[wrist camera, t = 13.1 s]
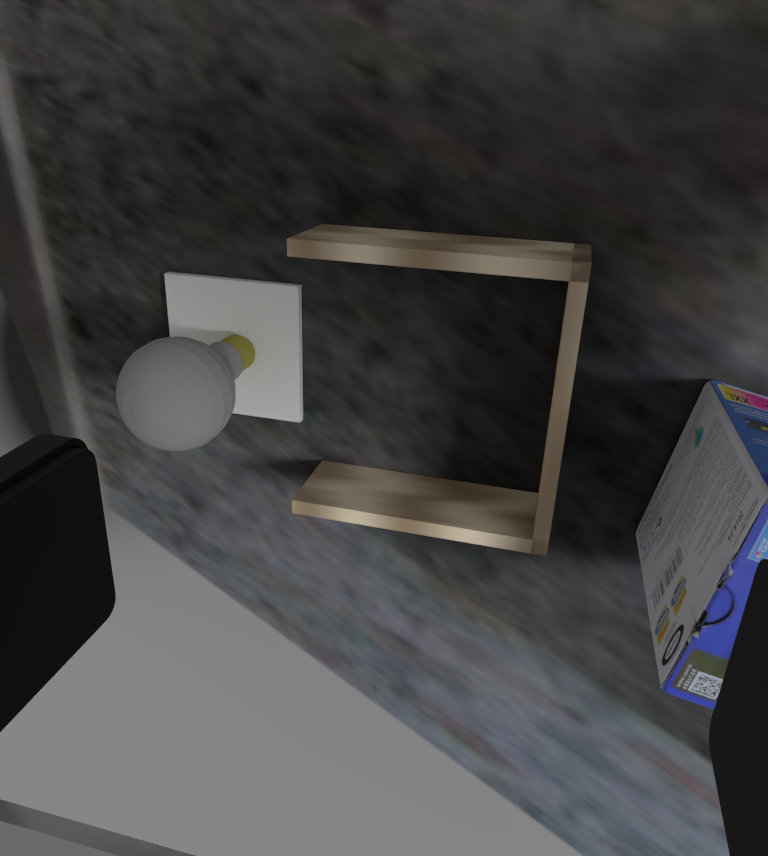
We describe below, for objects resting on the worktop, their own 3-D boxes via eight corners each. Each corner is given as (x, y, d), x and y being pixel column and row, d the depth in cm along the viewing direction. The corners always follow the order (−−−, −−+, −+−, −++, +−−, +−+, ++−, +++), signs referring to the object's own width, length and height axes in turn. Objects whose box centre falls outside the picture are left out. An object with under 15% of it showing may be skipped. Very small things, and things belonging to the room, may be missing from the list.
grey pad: (301, 284, 39) (298, 286, 38) (303, 419, 42) (300, 422, 42) (168, 271, 41) (164, 273, 40) (180, 402, 44) (176, 404, 43)
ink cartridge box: (731, 569, 39) (802, 791, 26) (631, 536, 40) (653, 737, 27) (820, 410, 35) (957, 583, 22) (706, 376, 35) (773, 525, 23)
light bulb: (183, 318, 41) (70, 377, 32) (262, 288, 39) (164, 342, 30) (223, 403, 43) (127, 481, 34) (301, 378, 41) (220, 455, 32)
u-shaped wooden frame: (590, 244, 34) (591, 264, 30) (551, 507, 40) (546, 556, 36) (322, 223, 37) (286, 238, 33) (322, 471, 43) (292, 512, 39)
